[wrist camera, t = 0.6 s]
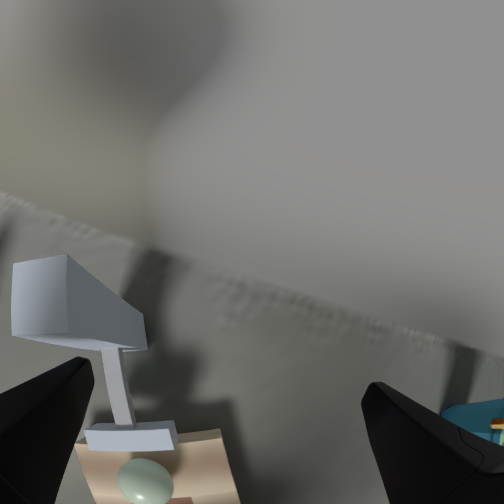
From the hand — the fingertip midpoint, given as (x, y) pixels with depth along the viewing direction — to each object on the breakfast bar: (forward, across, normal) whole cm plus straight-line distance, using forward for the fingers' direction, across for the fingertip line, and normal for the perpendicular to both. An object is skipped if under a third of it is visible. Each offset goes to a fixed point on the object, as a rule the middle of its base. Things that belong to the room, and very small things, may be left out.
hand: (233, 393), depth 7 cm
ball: (+2, +5, +13) cm, 14 cm away
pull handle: (+11, +7, +10) cm, 16 cm away
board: (+4, +4, +19) cm, 19 cm away
